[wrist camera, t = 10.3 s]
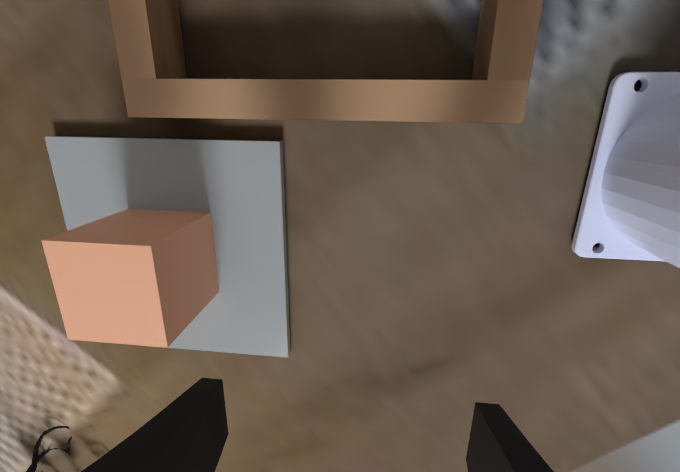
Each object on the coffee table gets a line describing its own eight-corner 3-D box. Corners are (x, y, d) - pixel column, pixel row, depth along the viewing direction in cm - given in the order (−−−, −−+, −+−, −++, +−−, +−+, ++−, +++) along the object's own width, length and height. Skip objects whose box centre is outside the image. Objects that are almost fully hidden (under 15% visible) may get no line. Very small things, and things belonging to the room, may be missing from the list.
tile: (282, 140, 17) (279, 141, 17) (290, 350, 21) (288, 357, 20) (54, 136, 18) (44, 136, 18) (101, 335, 22) (94, 341, 22)
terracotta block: (210, 212, 18) (150, 246, 13) (219, 291, 20) (167, 347, 15) (127, 208, 19) (41, 240, 14) (141, 286, 20) (68, 339, 15)
